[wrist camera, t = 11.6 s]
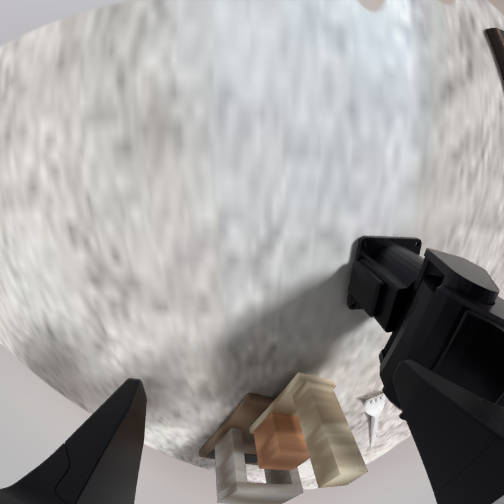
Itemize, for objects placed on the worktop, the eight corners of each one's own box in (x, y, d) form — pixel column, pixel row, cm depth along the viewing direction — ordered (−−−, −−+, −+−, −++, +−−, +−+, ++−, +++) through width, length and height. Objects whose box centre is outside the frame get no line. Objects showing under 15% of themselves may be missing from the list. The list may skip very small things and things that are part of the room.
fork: (361, 447, 36) (365, 455, 34) (362, 389, 28) (368, 400, 27) (378, 440, 36) (382, 447, 34) (386, 378, 28) (392, 389, 27)
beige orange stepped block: (298, 372, 24) (332, 474, 13) (333, 380, 25) (373, 470, 14) (249, 427, 26) (261, 513, 16) (282, 432, 28) (300, 511, 17)
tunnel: (248, 392, 26) (259, 471, 17) (317, 406, 28) (340, 472, 19) (199, 450, 30) (199, 508, 21) (258, 459, 32) (266, 512, 23)
